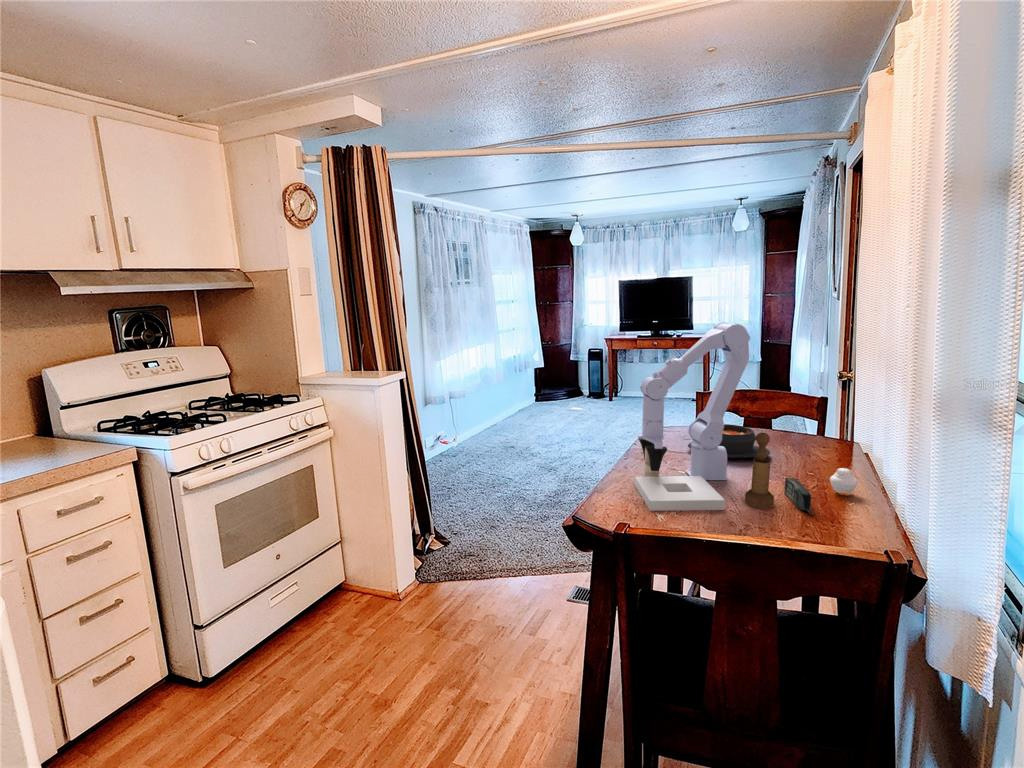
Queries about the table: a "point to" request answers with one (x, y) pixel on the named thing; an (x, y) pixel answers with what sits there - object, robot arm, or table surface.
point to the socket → (678, 493)
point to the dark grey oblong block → (798, 494)
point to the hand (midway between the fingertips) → (651, 466)
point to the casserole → (738, 442)
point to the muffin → (843, 481)
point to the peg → (647, 467)
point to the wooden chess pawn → (760, 477)
